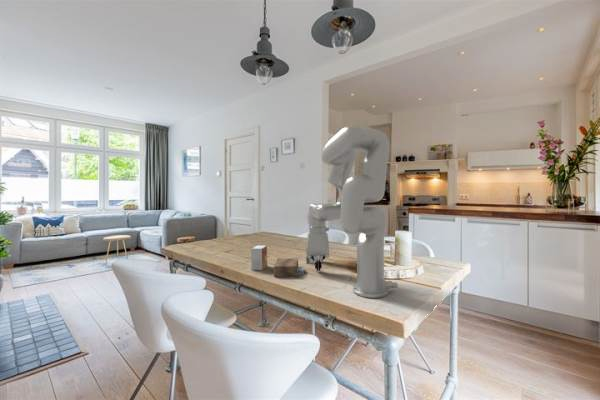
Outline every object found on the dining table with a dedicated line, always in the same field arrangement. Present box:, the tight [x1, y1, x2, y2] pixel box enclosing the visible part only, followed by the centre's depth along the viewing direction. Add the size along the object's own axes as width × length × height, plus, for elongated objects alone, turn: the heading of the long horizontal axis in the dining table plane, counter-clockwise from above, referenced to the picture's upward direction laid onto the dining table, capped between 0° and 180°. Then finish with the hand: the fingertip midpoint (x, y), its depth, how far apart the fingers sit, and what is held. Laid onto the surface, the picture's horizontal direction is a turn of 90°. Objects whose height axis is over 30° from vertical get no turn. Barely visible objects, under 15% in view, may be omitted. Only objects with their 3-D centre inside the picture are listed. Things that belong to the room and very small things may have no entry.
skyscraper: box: [305, 211, 320, 265], centre depth 144 cm, size 8×8×28 cm
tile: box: [297, 266, 305, 276], centre depth 124 cm, size 12×6×2 cm, turn 88°
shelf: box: [273, 258, 302, 278], centre depth 125 cm, size 12×14×5 cm
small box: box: [250, 244, 268, 271], centre depth 133 cm, size 8×6×10 cm
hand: (318, 269), depth 125 cm, fingers closed
